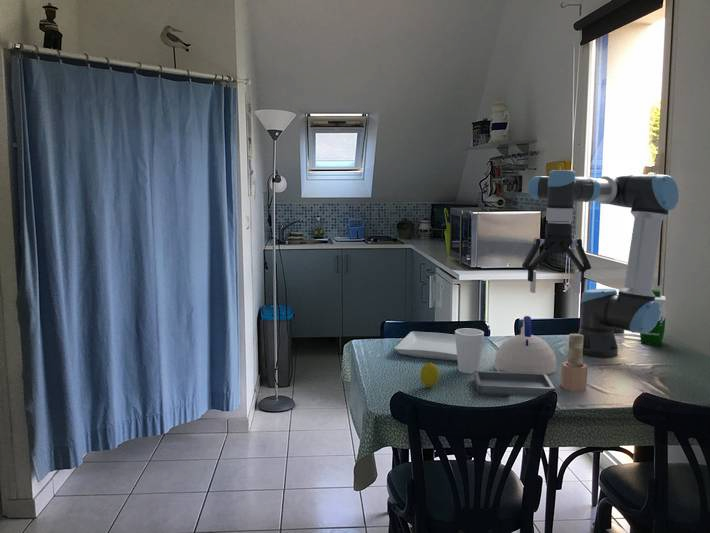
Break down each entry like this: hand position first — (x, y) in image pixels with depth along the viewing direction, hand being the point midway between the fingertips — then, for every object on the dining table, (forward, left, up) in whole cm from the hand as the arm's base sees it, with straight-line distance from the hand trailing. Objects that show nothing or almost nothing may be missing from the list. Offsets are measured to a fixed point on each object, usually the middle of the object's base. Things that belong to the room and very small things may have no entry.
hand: (554, 292), depth 194 cm
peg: (-6, +5, -28) cm, 29 cm away
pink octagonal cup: (-6, +5, -29) cm, 30 cm away
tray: (+12, +6, -29) cm, 32 cm away
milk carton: (-49, -55, -29) cm, 79 cm away
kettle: (+5, -15, -29) cm, 33 cm away
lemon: (+37, +8, -29) cm, 48 cm away
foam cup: (+24, -11, -29) cm, 39 cm away
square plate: (+33, -33, -29) cm, 55 cm away
